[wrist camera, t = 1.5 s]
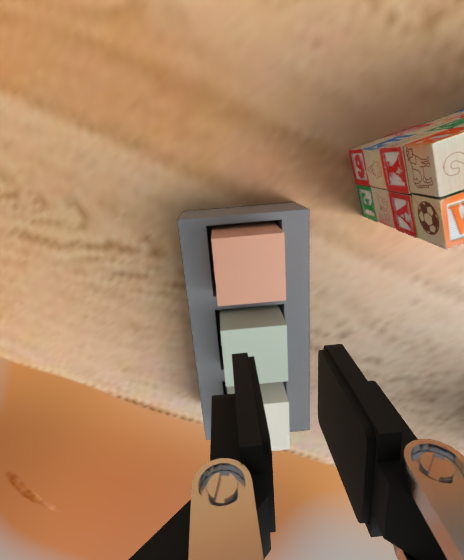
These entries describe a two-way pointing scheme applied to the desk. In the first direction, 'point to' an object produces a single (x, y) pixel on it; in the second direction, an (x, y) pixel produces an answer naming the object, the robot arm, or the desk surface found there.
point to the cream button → (275, 413)
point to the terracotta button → (249, 263)
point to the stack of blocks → (416, 180)
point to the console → (207, 312)
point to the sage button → (255, 341)
